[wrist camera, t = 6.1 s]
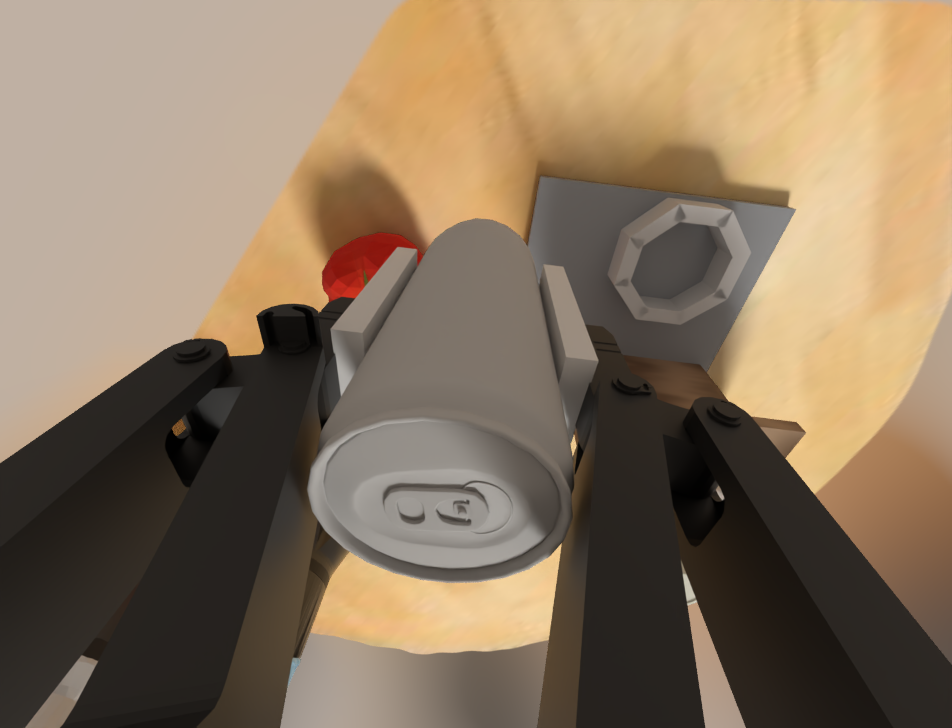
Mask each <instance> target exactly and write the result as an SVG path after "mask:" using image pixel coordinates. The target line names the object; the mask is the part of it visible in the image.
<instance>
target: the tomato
mask: <svg viewBox="0 0 952 728" xmlns="http://www.w3.org/2000/svg"><path fill="white" fill-rule="evenodd" d="M397 247H402V248H411V249H417V266H418V265H419V263H420V261H421V259H422V258H423V255H422V254H421V253H420V251H419V250H418V248H417V247H416V245H414V244H413V243H411V242H410V241H408V240H407V239H405V238H404V237H403V236H401V235H396V234H389V233H381V232H380V233H376V234H372V235H368V236H363V237H359V238H357V239H355V240H353V241H351V242H350V243H348V244H346V245H344V246H343V247H341V248H339V249H338V250H336V251H334V253H333V255H332V256H331V258H330V259H329V261H328V263H327V265H326V266H325V268H324V270H323V271H322V285H323V289H324V291H325V292H326V294H327V295H328V296H329V302H331V301H333V300H335V299H337V298H340V297H349V298H356V297H357V296H358V295H359V293H360V292H361V291H362V290H363V289H364V287H365V286H366V285H367V284H368V282H369V281H370V280H371V279H372V278H373V276H374V275H375V274H376V273H377V271H378V270H379V269H380V268H381V267H382V265H383V264H384V263H385V262H386V260H387V259H388V258H389V257H390V256H391V254H392V253H393V252H394V251H395V249H396V248H397Z"/></svg>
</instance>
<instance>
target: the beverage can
mask: <svg viewBox="0 0 952 728" xmlns="http://www.w3.org/2000/svg"><path fill="white" fill-rule="evenodd" d="M573 490H574V469H573V457H572V451H571V445H570V440H569V435H568V430H567V425H566V420H565V415H564V410H563V405H562V400H561V395H560V390H559V385H558V379H557V374H556V369H555V364H554V359H553V354H552V349H551V344H550V339H549V334H548V329H547V324H546V319H545V313H544V308H543V303H542V298H541V293H540V288H539V283H538V278H537V273H536V268H535V263H534V260H533V257H532V255H531V252H530V249H529V247H528V246H527V245H526V243H525V242H524V241H523V239H522V238H521V237H520V235H518V234H517V233H516V232H514V231H513V230H512V229H511V228H509V227H508V226H506V225H504V224H501V223H499V222H496V221H494V220H488V219H472V220H468V221H464V222H460V223H458V224H456V225H454V226H452V227H450V228H449V229H447V230H445V231H444V232H443V233H442V234H440V235H439V236H438V237H437V238H435V239H434V241H433V242H432V244H431V245H430V246H429V248H428V249H427V251H426V252H425V254H424V256H423V258H422V259H421V261H420V263H419V265H418V266H417V268H416V270H415V271H414V273H413V275H412V277H411V278H410V280H409V282H408V283H407V285H406V287H405V289H404V290H403V292H402V294H401V295H400V297H399V299H398V301H397V302H396V304H395V306H394V307H393V309H392V311H391V312H390V314H389V316H388V318H387V319H386V321H385V323H384V324H383V326H382V328H381V329H380V331H379V333H378V335H377V336H376V338H375V340H374V341H373V343H372V345H371V346H370V348H369V350H368V352H367V353H366V355H365V357H364V358H363V360H362V362H361V363H360V365H359V367H358V369H357V370H356V372H355V374H354V375H353V377H352V379H351V381H350V382H349V384H348V386H347V387H346V389H345V391H344V393H343V394H342V396H341V398H340V399H339V401H338V403H337V405H336V406H335V408H334V410H333V411H332V413H331V415H330V416H329V418H328V420H327V422H326V423H325V425H324V427H323V429H322V431H321V434H320V439H319V445H318V450H317V456H316V458H315V460H314V461H313V463H312V464H311V467H310V473H309V479H308V485H307V492H308V496H309V500H310V504H311V508H312V512H313V513H314V515H315V516H316V518H317V519H318V521H319V522H320V524H321V525H322V527H323V528H324V530H325V531H326V532H327V533H328V534H329V535H330V536H331V537H332V538H333V539H334V540H336V541H337V542H338V543H339V544H340V545H341V546H342V547H343V548H345V549H346V550H348V551H349V552H351V553H353V554H354V555H356V556H358V557H359V558H361V559H363V560H364V561H366V562H368V563H370V564H373V565H375V566H378V567H380V568H383V569H385V570H387V571H390V572H392V573H396V574H400V575H404V576H408V577H412V578H416V579H420V580H428V581H436V582H445V583H470V582H482V581H488V580H494V579H500V578H505V577H508V576H511V575H514V574H517V573H519V572H522V571H525V570H528V569H530V568H531V567H533V566H535V565H536V564H538V563H540V562H541V561H543V560H544V559H546V558H548V557H549V556H550V555H551V554H552V553H553V552H554V551H555V550H556V549H557V547H558V546H559V545H560V544H561V543H562V542H563V541H564V540H565V537H566V535H567V532H568V529H569V527H570V524H571V522H572V519H573V513H572V496H571V495H572V492H573Z"/></svg>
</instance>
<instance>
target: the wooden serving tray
mask: <svg viewBox="0 0 952 728" xmlns="http://www.w3.org/2000/svg"><path fill="white" fill-rule="evenodd" d="M623 357H624V359H625V361H626V363H627V365H628V367H629V369H630V371H631V373H632V374H635V375H638V376H640V377H641V378H643V379H645V380H647V381H648V382H649V383H650V384H651V385H652V386H653V387H654V389H655V391H656V393H657V399H659V400H661V401H664V402H667V403H670V404H673V405H676V406H679V407H682V408H686V409H690V408H691V406H692V404H693V402H694V400H695V399H698V398H700V397H713V398H718V399H723V400H726V401H727V402H729V401H728V400H727V399H726V397H725V396H724V395H723V394H722V392H721V391H720V390H719V388H718V387H717V386H716V384H715V383H714V382H713V381H712V379H711V378H710V377H709V375H708V374H707V373H706V371H705V370H704V369H703V368H702V366H701V365H699V364H692V363H684V362H676V361H668V360H660V359H652V358H644V357H636V356H628V355H623ZM752 418H753V419H754V420H755V422H756V423H757V424H758V425H759V427H760V428H761V429H762V430H763V431H764V433H765V434H766V435H767V436H768V438H769V439H770V440H771V441H772V443H773V444H774V445H775V446H776V448H777V449H778V450H779V451H780V453H781V454H782V455H783V456H784V458H786V457H787V455H788V454H789V453H790V452H791V450H792V449H793V448H794V447H795V446H796V444H797V443H798V442H799V441H800V440H801V438H802V437H803V436H804V435H805V433H806V432H805V431H804V430H803V429H802V428H801V427H800V425H799V424H798V423H797V422H790V421H782V420H774V419H766V418H758V417H752ZM574 435H575V440H576V444H578V441H579V440H578V435H577V431H576V429H575V432H574Z"/></svg>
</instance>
